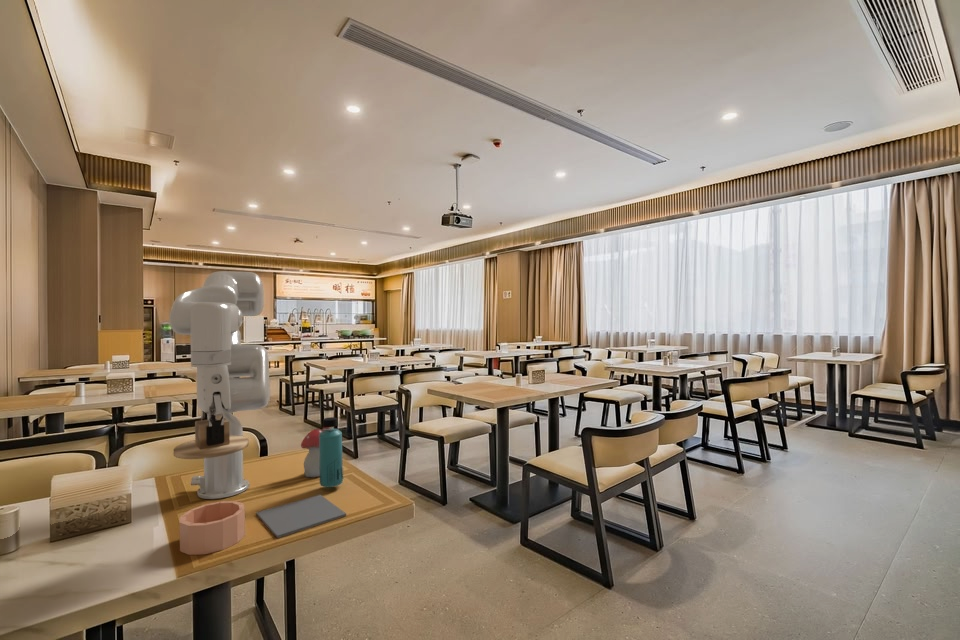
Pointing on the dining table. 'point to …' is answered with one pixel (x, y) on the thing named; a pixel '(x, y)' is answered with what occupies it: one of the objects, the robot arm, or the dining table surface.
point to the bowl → (212, 527)
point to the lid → (202, 450)
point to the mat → (299, 515)
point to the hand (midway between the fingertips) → (212, 440)
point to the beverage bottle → (330, 454)
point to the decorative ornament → (312, 453)
